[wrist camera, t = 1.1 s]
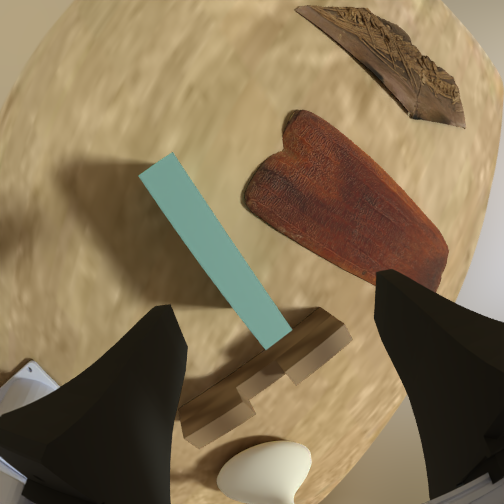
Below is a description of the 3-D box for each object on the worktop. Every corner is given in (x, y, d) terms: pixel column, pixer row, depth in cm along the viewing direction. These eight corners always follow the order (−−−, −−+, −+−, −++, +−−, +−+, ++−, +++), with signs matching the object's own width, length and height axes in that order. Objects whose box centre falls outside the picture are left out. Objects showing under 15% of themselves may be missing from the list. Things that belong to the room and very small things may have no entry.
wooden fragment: (465, 93, 29) (470, 93, 28) (458, 161, 30) (464, 161, 29) (310, -26, 20) (315, -31, 19) (282, 40, 21) (287, 35, 20)
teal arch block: (255, 293, 24) (292, 330, 18) (235, 308, 24) (265, 350, 17) (167, 164, 20) (172, 151, 14) (144, 180, 20) (138, 175, 13)
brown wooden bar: (191, 420, 25) (199, 449, 21) (178, 409, 24) (183, 438, 20) (328, 321, 27) (352, 339, 23) (320, 306, 26) (344, 324, 23)
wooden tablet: (233, 207, 23) (239, 208, 21) (292, 103, 23) (301, 98, 21) (419, 317, 32) (428, 322, 31) (451, 246, 32) (461, 249, 31)
